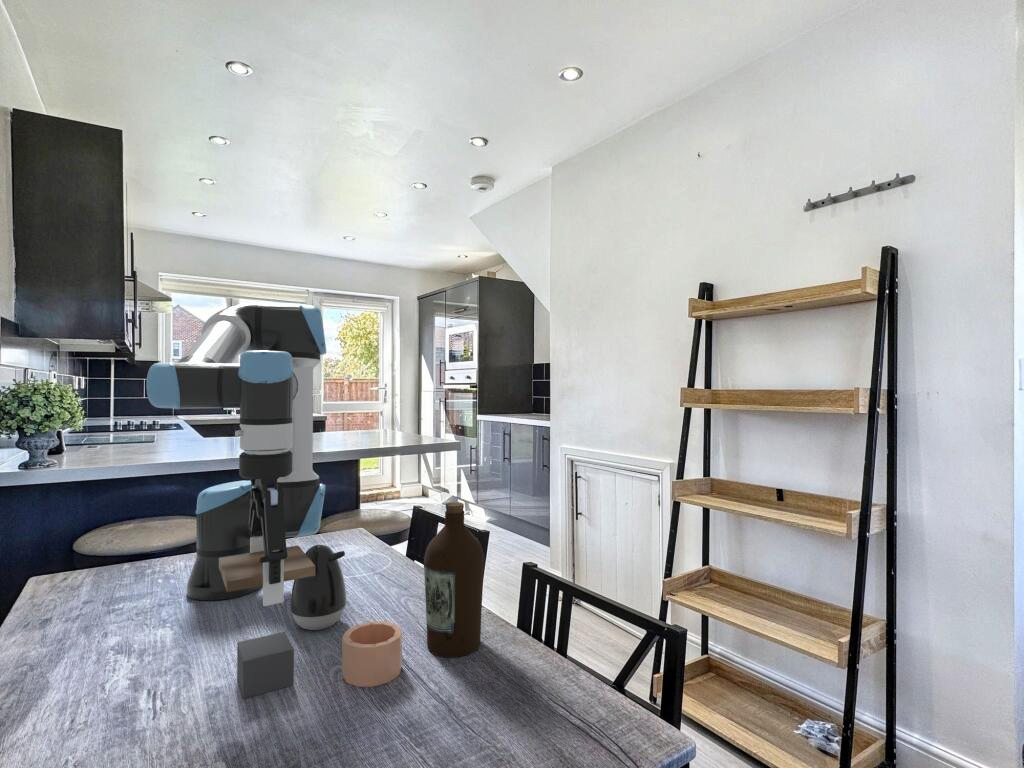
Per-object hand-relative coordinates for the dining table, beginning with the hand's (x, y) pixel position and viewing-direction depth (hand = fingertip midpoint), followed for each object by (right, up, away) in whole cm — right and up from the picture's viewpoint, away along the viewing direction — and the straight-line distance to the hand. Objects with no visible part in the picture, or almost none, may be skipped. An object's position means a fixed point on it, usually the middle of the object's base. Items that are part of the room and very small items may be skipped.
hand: (265, 588), depth 85 cm
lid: (0, +3, 0) cm, 3 cm away
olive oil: (+28, -15, +12) cm, 34 cm away
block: (0, -14, 0) cm, 14 cm away
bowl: (+16, -14, +3) cm, 21 cm away
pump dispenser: (+1, -14, +20) cm, 24 cm away
